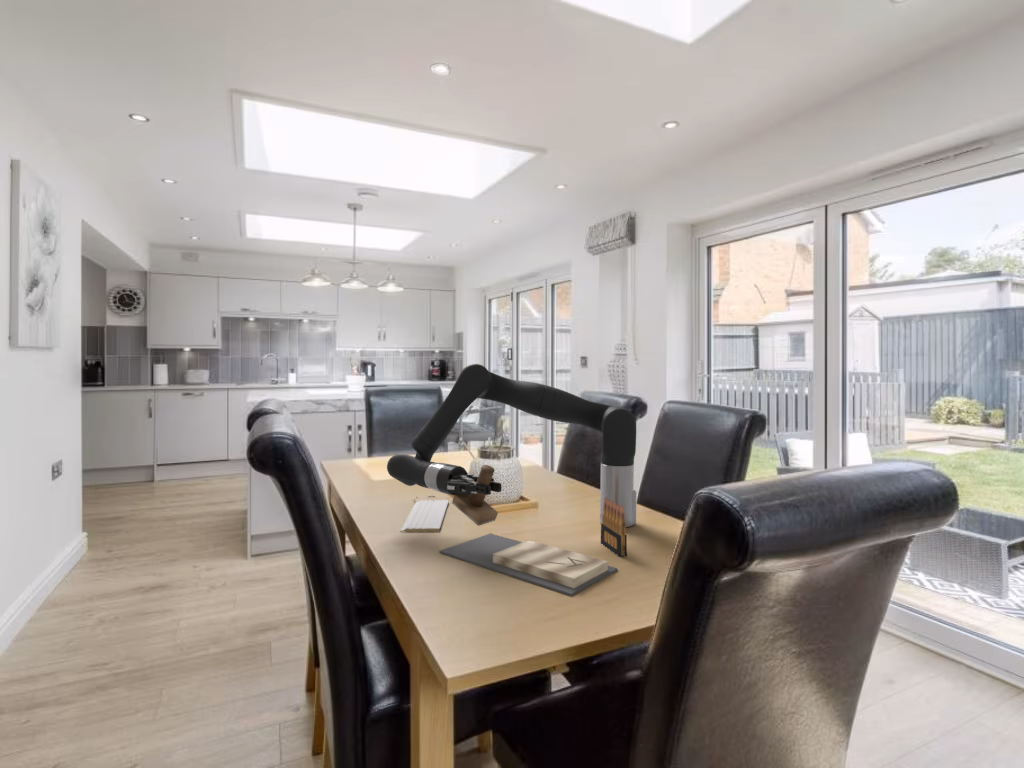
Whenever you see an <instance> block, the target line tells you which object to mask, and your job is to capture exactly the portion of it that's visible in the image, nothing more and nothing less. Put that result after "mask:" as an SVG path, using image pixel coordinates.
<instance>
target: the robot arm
mask: <svg viewBox="0 0 1024 768" xmlns="http://www.w3.org/2000/svg"><path fill="white" fill-rule="evenodd" d="M477 399H483V400H488V401H491V402H497V403H501V404H504V405H507V406H509V407H512V408H513V409H517V410H519V411H521V412H524V413H526V414H530V415H532V416H536V417H538V418H541V419H545V420H549V421H553V422H554V421H555V422H559V423H566V424H574V425H580V426H584V427H587V428H588V429H589V428H590V429H592V430H595V431H598V432H600V433H602V446H601V447H602V449H601V454H600V491H599V492H600V495H599V496H600V497H599V498H600V499H599V500H600V501H599V502H600V505H599V506H600V509H599V510H600V511H599V512H600V513H599V514H600V515H599V523H600V525H601V524H602V514H603V505H604V499H605V497H607V500H608V499H610V502H611V501H612V500H613V503H615V502H616V504H617V506H618V504H619V505H620V508H621V506H623V508H624V513H625V528H630V527H632V526H634V525H637V491H636V490H634V483H635V482H634V480H635V479H634V478H635V475H634V471H635V466H634V464H635V456H636V451H637V450H636V449H637V448H636V447H637V421H636V418H635V415H634V414H633V413H632V412H631V410H628V409H627V408H625V407H622V406H617V405H610V404H605V403H604V404H603V403H599V402H594V401H591V400H588V399H585V398H582V397H579V396H577V395H576V394H573V393H570V392H568V391H565V390H562V389H560V388H557V387H555V386H550V385H546V384H543V383H538V382H534V381H525V380H516V379H511V378H508V377H504V376H501V375H499V374H496V373H494V372H491V371H489V370H488V369H487V367H486V366H484V365H482V364H480V363H471V364H468V365H466V366H465V367H463V368H462V369H461V371H460V372H459V376H458V377H457V379H456V381H455V383H454V385H453V386H452V388H451V389H450V391H449V393H448V394H447V396H446V397H445V399H444V401H443V402H442V403H441V405H440V406H439V407H438V408H437V409H436V411H435V412H434V413H433V415H432V416H430V418H429V419H428V421H427V422H426V423H425V424H424V425H423V426H422V428H421V429H420V430H419V432H418V433H417V434H416V436H414V438H413V439H412V441H411V447H412V449H413V450H414V451H415V452H416V453H415V456H413V455H410V454H408V453H402V452H401V453H396V454H395V455H392V456H391V457H390V458H389V460H388V461H387V465H386V471H387V472H388V474H389V476H390V477H392V478H393V479H394V480H397V481H398V482H400V483H402V484H404V485H406V486H409V487H412V486H415V485H417V486H419V487H422V488H424V489H430V490H432V491H434V492H436V493H437V492H439V493H443V494H446V495H450V496H454V495H455V494H459V493H460V494H471V493H474V494H476V493H481V494H485V495H486V496H490V495H491V494H492V492H495V493H501V492H502V483H501V482H498V481H495V478H494V477H492V479H491V482H490V485H485V484H481V483H479V484H478V483H477V479H478V476H479V475H475V474H473V473H468V472H467V470H466V468H465V467H463V466H460V465H455V464H450V463H444V462H435V461H432V458H433V456H434V454H436V452H437V451H438V449H439V448H440V446H441V445H442V444H443V443H444V441H445V440H446V439H447V437H448V436H449V435H450V433H451V431H452V430H453V428H454V426H455V425H456V423H457V422H458V421H459V419H460V418H461V416H462V415H463V413H464V412H465V411H466V410H467V409H468V407H470V406H471V404H473V403H474V402H475V400H477Z"/></svg>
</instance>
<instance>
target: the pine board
mask: <svg viewBox="0 0 1024 768" xmlns="http://www.w3.org/2000/svg"><path fill="white" fill-rule="evenodd" d="M522 542H523V543H520V544H517V545H515V546H512V547H509V548H507V549H504V550H502V551H499V552H496V553H494V554H493V563H496V564H499V565H502V566H505V567H508V568H512V569H515V570H518V571H521V572H524V573H527V574H530V575H534V576H537V577H540V578H543V579H546V580H549V581H552V582H556V583H559V584H562V585H565V586H568V587H571V588H576V587H578V586H580V585H581V584H583V583H585V582H587V581H589V580H591V579H592V578H594V577H596V576H598V575H600V574H602V573H604V572H605V571H607V570H608V566H609V561H608V560H604V559H600V558H597V557H593V556H589V555H587V554H582V553H579V552H574V551H570V550H568V549H567V550H566V549H564V548H560V547H556V546H553V545H548V544H544V543H542V542H541V543H540V542H537V541H533V540H529V539H528V540H526V541H522Z"/></svg>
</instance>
